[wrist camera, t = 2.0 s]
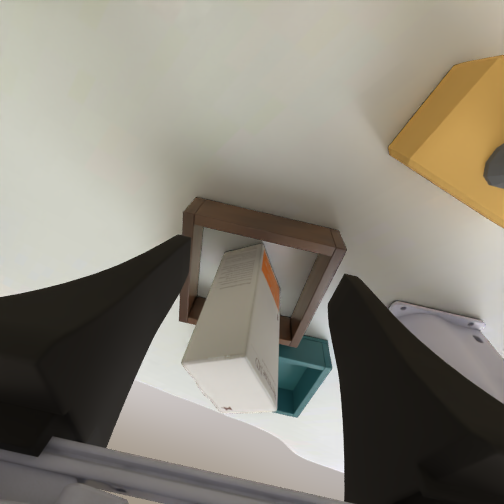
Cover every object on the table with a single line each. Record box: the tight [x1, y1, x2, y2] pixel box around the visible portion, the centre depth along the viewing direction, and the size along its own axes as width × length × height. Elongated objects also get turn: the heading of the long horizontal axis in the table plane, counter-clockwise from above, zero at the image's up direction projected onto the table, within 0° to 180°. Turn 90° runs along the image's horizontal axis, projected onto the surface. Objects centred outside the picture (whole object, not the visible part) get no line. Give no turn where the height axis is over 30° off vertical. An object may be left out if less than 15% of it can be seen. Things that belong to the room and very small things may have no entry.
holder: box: [179, 197, 347, 348], centre depth 23 cm, size 13×13×3 cm
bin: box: [274, 335, 332, 418], centre depth 31 cm, size 12×13×4 cm
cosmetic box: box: [181, 244, 280, 414], centre depth 19 cm, size 6×4×12 cm
